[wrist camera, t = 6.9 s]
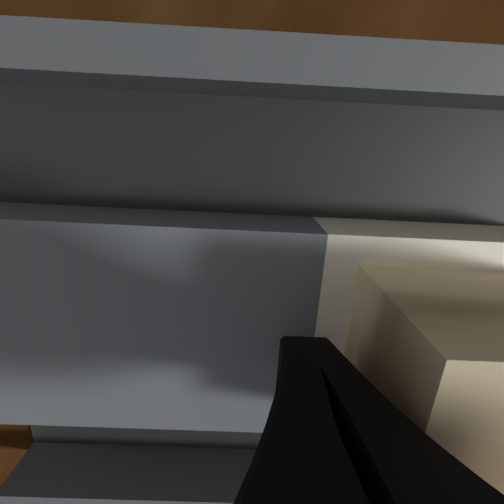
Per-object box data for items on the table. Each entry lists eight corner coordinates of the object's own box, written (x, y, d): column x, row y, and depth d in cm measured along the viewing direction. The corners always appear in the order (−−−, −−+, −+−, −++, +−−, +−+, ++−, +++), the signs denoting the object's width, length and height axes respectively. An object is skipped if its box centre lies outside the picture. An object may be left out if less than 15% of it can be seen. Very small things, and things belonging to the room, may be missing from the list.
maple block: (485, 412, 10) (624, 570, 6) (334, 407, 10) (385, 565, 6) (537, 272, 9) (764, 371, 5) (359, 264, 8) (446, 359, 5)
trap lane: (432, 464, 14) (468, 527, 12) (42, 452, 14) (-1, 514, 12) (559, 78, 9) (665, 54, 7) (-52, 43, 9) (-162, 5, 7)
